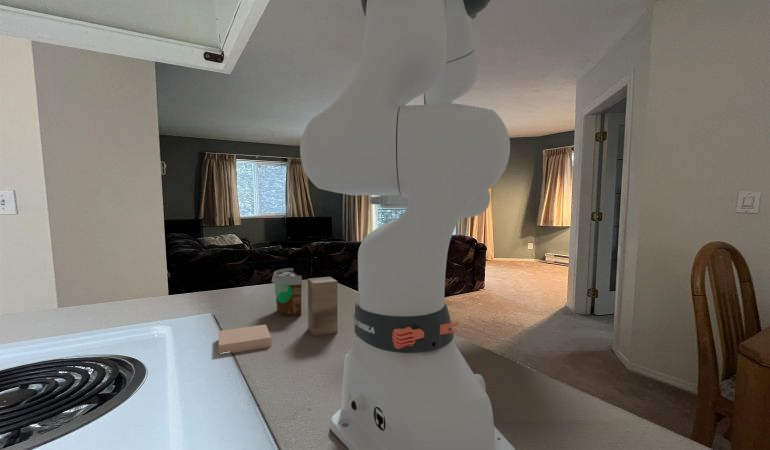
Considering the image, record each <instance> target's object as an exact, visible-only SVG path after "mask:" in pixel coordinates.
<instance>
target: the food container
mask: <svg viewBox="0 0 770 450" xmlns="http://www.w3.org/2000/svg"><path fill="white" fill-rule="evenodd" d="M271 283H274V291H275V292H274V293H275V302H276V312H277V314H278V315H280V316H283V317H284V316H285V317H301V316H302V285H303V279H302V275H298V274H297V273H295V272H294V268H293V267H291V268H290V267H288V268H282V269H278V270H275V271H274V272H273V275H272V279H271Z"/></svg>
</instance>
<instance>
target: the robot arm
mask: <svg viewBox="0 0 770 450" xmlns="http://www.w3.org/2000/svg"><path fill="white" fill-rule="evenodd" d="M490 1H491V0H360V2H361V7H362V11H363V14H364V18H365V22H364V23H365V24H364V25H365V26H364V35H363V36H364V37H363V42H362V51H361V55H360V61H359V64H358V66H357V69H356V71H355V73H354V75H353V77H352V78H351V80H350V82H349V83H348V85H347V86H346V87H345V88H344V90H343V91H342V93H341V94H340V95H339V96H338V97H337V98H336V99H335V101H334V102H332V103H331V104H330V105H329V106H328V107H326V108H325V109H324V110H322V111H321V112H318V114H316V115H314V116H313V117H312V118H311V119H310V121H308V124H306V126H305V128H304V130H303V132H302V136H301V140H300V147H299V154H300V160H301V165H302V167H303V170H304V172H305V174H306V176H307V178H308V179H309V181H311V183H312V184H313V185H314V186H315V187H316V188H317V189H320V190H324V191H327V192H332V193H337V194H343V195H349V196H370V197H369V205H377V206H380V208H383V209H405V211H404V212H403V214H402V215H400V216H399V217H398V218H396V219H393V220H391V221H388V222H387V223H385V224H382V225H380V226H379V227H377V228H375V229H373V231H371V232H369V233H368V234H367V235H366V236H365V237H364V238H363V239H362V241H361V243H360V244H359V245H360V246H359V248H358V252H357V272H358V273H357V283H358V284H357V289H358V290H357V292H358V295H357V302H356V303H355V305H354V313H353V322H354V334H355V335H356V337H355V339H354V342H353V344H352V345H351V347H350V349H349V350H348V351H347V353H346V355H345V356H344V359H343V369H342V370H343V373H342V387H341V388H342V389H341V390H342V392H341V404H340V406H341V407H340V408H339V409H338V410H337V411H336V412H335V413H333V415H332V416H331V418H330V423H329V428H330V431H331V432H332V433H333V434H334V435H335V436H336V437H337V438H338V439H339V440H340V441H341V442H342V444H344V445H345V446H346V447H347V449H348V450H516V449H515V447H514V446H513V444H511V443H510V441H508V440H507V438H506V437H505V436H504V435H503V434H502V433H501V432H500V431H499V429H498V428H497V426H495V421H494V420H495V419H494V413H493V407H492V402H491V399H490V397H489V394H487V392H486V390H487V389H486V387H487V386H486V382H485V379H484V377H483V376H482V375H481V374H478V373H476V374H474V372H473V370H472V369H471V367H470V366H469V364H468V363H467V361H466V360H465V358H464V356H463V355H462V353H461V351H460V349H458V347H457V346H456V343H455V342H454V337H455V335H454V333H458V331H459V330H458V329H453V328H454V327H456V326H458V322H455V321H453V322H452V319H451V314H450V313H449V308H448V305H447V304H446V303H445V293H446V292H445V290H446V289H445V288H446V287H445V286H446V271H447V260H448V252H449V247H450V242H451V240H452V235H453V234H454V232H455V231H454V230H455V229H456V226H457V225H458V222H459V221H460V219H467V218H473V217H477V216H480V215H482V214H483V213H484V212H485V211H487V209H488V207H489V206H490V202H491V193H490V191H489V190H490V189H491V188H492V187H494V185H495V184H496V183H497V182H498V181H500V178H501V177H502V175H503V174H504V172H505V171H506V168H507V166H508V163H509V160H510V159H509V158H510V153H511V142H510V141H511V140H510V135H509V132H508V129H507V127H506V125H505V123H504V121H503V120H502V118H501V116H499V114H498V113H497V112H496V111H495V110H494V109H491V108H485V107H479V106H475V105H469V104H468V105H467V104H461V103H454V101H456V100H458V99H460V98H462V97H463V96H465V95H466V94H467V93H468V92H469V91H470V90H471V88H472V87H473V86H474V84H475V82H476V80H477V76H478V75H477V74H478V60H477V59H478V58H477V51H476V44H475V43H476V42H475V38H474V32H473V28H472V24H471V19H472V20H474V19H476V18H477V14H479V13H480V12H481V11H483V10H484V9H485V8H486V7H487V6H488V4H490ZM470 18H471V19H470ZM421 95H423V104H415V105H414V104H412V105H411V104H409V105H407V104H408V103H409V102H411V101H413V100H414V99H416V98H418V97H419V96H421Z"/></svg>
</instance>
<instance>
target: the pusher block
mask: <svg viewBox="0 0 770 450" xmlns="http://www.w3.org/2000/svg"><path fill="white" fill-rule="evenodd" d="M307 315H308V316H307V319H308V320H307V321H308V323H307V325H308V326H307V330H309V331H310V333H311V335H312V336H313V337H319V336H320V337H321V336H326V335H331V334H338V280H336V279H334V278H333V277H332V276H324V277H323V276H322V277H312V278H307Z"/></svg>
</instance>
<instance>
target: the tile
mask: <svg viewBox="0 0 770 450" xmlns="http://www.w3.org/2000/svg"><path fill="white" fill-rule="evenodd" d="M270 347H272V336H271V334H270V331H269V328H268V326H267V324H259V325H253V326H252V325H251V326H246V327H244V326H243V327H239V328H238V327H237V328H229V329H223V330H218V354H219V353H223V352H228V351H230V352H232V353H231V354H234V353H239V352H245V351H246V352H247V351H251V350H252V351H253V350H259V349H264V348H265V349H266V348H270Z"/></svg>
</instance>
